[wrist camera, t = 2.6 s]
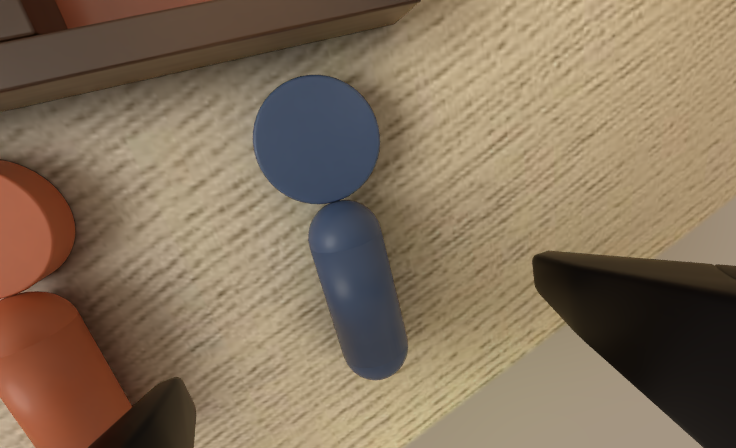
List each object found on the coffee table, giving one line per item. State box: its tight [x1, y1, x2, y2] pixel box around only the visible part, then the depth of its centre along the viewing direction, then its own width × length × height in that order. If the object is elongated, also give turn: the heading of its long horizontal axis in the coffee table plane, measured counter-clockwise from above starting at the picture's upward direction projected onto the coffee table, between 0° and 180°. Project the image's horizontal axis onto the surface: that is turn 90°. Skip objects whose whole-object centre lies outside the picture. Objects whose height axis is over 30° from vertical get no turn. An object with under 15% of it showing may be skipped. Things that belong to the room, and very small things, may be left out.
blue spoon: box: [253, 75, 408, 380], centre depth 10 cm, size 9×3×2 cm, turn 14°
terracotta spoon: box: [0, 160, 132, 448], centre depth 9 cm, size 9×3×2 cm, turn 14°
